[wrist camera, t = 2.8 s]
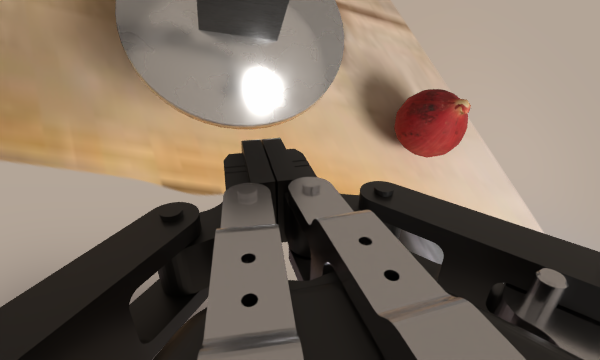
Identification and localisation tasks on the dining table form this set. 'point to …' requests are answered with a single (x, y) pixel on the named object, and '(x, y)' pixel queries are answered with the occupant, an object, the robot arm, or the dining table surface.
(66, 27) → the dining table surface
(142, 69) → the lid
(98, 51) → the dining table surface
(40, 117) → the dining table surface
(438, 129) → the onion
